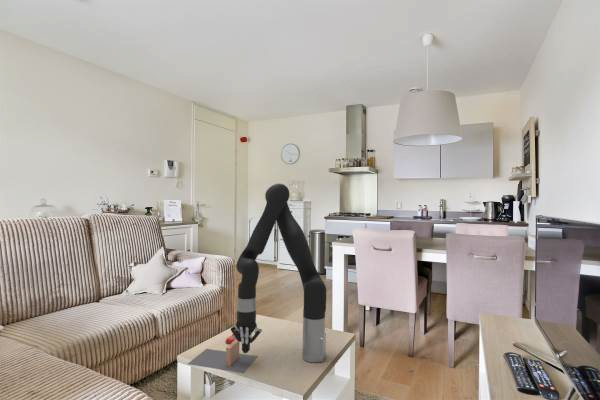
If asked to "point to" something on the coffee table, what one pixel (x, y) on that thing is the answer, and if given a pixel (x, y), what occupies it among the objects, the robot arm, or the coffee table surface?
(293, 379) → the coffee table surface
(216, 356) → the mat
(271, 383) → the coffee table surface
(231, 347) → the tile
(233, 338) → the race car
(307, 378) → the coffee table surface
